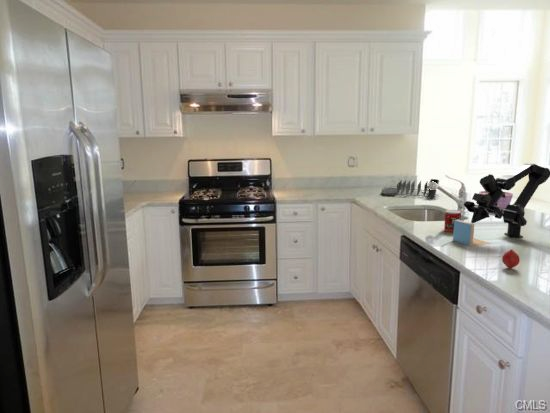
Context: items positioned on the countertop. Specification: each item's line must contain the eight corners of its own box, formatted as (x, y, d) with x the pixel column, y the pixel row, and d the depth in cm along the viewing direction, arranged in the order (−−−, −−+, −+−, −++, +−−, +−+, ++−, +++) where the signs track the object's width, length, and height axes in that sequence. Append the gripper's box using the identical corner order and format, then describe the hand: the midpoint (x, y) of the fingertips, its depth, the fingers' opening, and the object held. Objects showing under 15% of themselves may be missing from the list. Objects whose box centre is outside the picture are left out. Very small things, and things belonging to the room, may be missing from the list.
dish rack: (436, 199, 303) (437, 184, 301) (378, 196, 321) (379, 182, 319) (438, 193, 333) (439, 179, 331) (385, 190, 351) (386, 177, 349)
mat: (470, 237, 196) (470, 236, 196) (490, 244, 185) (490, 243, 185) (451, 240, 192) (451, 239, 192) (470, 246, 181) (470, 246, 181)
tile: (456, 239, 192) (457, 219, 190) (472, 245, 183) (474, 224, 181) (452, 240, 191) (454, 220, 189) (469, 245, 182) (471, 224, 180)
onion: (499, 265, 156) (501, 246, 155) (515, 266, 155) (518, 247, 153) (503, 270, 151) (505, 250, 149) (520, 271, 149) (522, 251, 148)
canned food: (444, 232, 207) (445, 212, 205) (443, 229, 214) (445, 209, 212) (460, 233, 204) (461, 213, 202) (459, 230, 211) (460, 210, 209)
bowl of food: (474, 206, 273) (475, 190, 271) (506, 207, 267) (508, 191, 265) (481, 212, 254) (482, 195, 252) (515, 213, 249) (517, 195, 246)
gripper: (468, 184, 194) (448, 208, 192) (501, 190, 177) (480, 215, 175) (478, 199, 198) (460, 222, 196) (511, 205, 181) (491, 231, 179)
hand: (472, 222), depth 187 cm, fingers closed
